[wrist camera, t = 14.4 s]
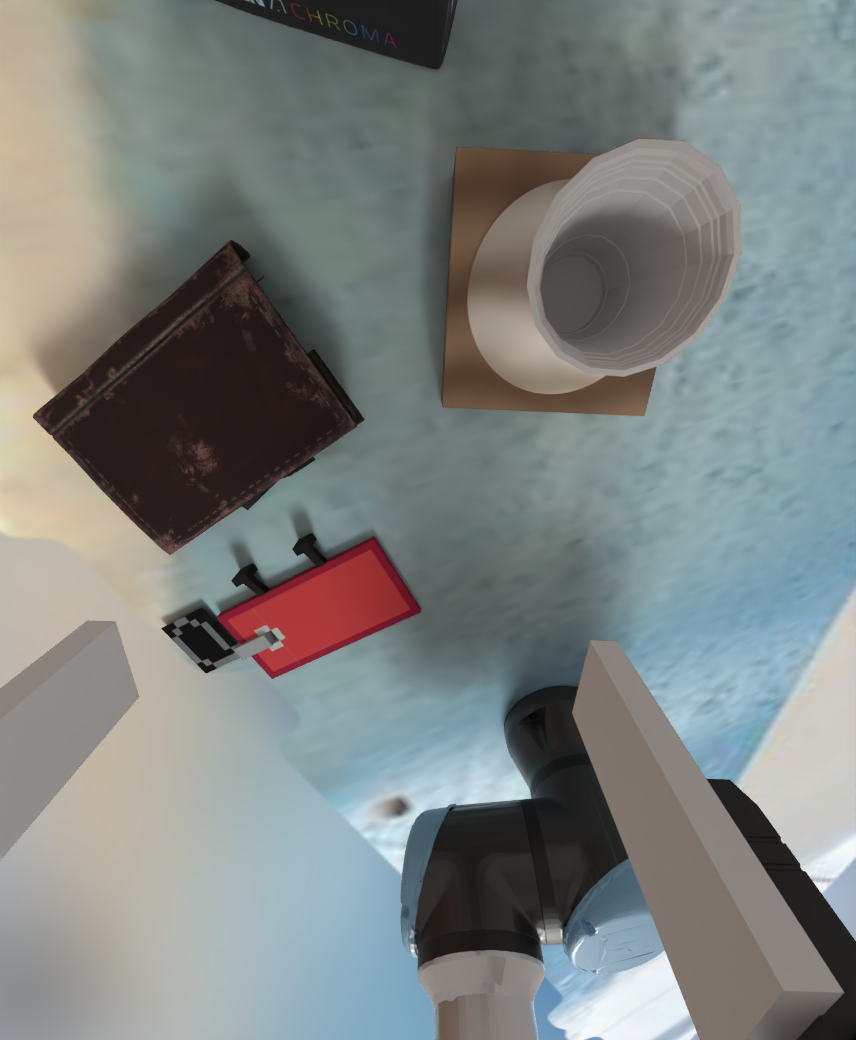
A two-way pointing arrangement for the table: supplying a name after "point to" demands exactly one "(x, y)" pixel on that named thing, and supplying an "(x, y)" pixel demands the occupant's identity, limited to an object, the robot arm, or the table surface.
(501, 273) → the walnut pedestal
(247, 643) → the red board with handle
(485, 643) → the table surface
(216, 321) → the diary
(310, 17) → the headset box
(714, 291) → the plastic cup
